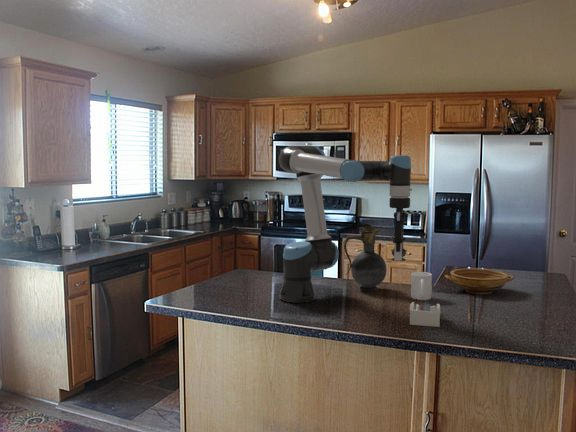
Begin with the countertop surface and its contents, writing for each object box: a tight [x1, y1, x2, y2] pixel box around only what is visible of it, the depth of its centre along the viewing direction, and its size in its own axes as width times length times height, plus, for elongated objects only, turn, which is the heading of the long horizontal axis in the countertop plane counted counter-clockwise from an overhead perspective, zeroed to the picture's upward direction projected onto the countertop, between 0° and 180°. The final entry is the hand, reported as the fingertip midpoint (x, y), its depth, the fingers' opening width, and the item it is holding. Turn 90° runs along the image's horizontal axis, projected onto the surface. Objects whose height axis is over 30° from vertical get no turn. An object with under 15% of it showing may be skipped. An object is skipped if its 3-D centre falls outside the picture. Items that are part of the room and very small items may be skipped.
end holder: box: [409, 301, 441, 328], centre depth 186 cm, size 10×12×5 cm
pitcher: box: [343, 223, 388, 292], centre depth 233 cm, size 11×19×30 cm, turn 89°
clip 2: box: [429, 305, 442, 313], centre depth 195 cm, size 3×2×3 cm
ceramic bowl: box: [444, 267, 515, 295], centre depth 231 cm, size 30×24×8 cm
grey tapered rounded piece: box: [390, 231, 407, 262], centre depth 195 cm, size 6×6×12 cm
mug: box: [410, 271, 433, 301], centre depth 217 cm, size 12×8×10 cm
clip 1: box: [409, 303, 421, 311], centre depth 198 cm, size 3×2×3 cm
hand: (398, 258), depth 196 cm, fingers closed on grey tapered rounded piece, 6 cm apart
